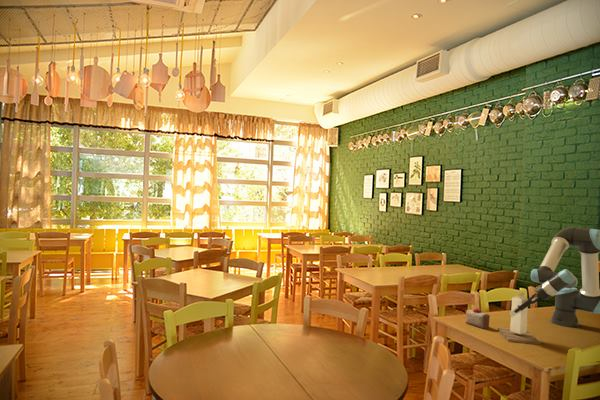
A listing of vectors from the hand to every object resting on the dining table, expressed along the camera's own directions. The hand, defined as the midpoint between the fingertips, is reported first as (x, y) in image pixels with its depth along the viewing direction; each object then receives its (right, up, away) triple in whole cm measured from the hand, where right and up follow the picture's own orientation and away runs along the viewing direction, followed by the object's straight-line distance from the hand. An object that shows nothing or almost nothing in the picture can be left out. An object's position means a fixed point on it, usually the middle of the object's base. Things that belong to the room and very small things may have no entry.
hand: (512, 313), depth 245 cm
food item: (-13, -12, +17) cm, 25 cm away
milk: (+2, -10, -2) cm, 10 cm away
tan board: (+2, -13, -2) cm, 13 cm away
